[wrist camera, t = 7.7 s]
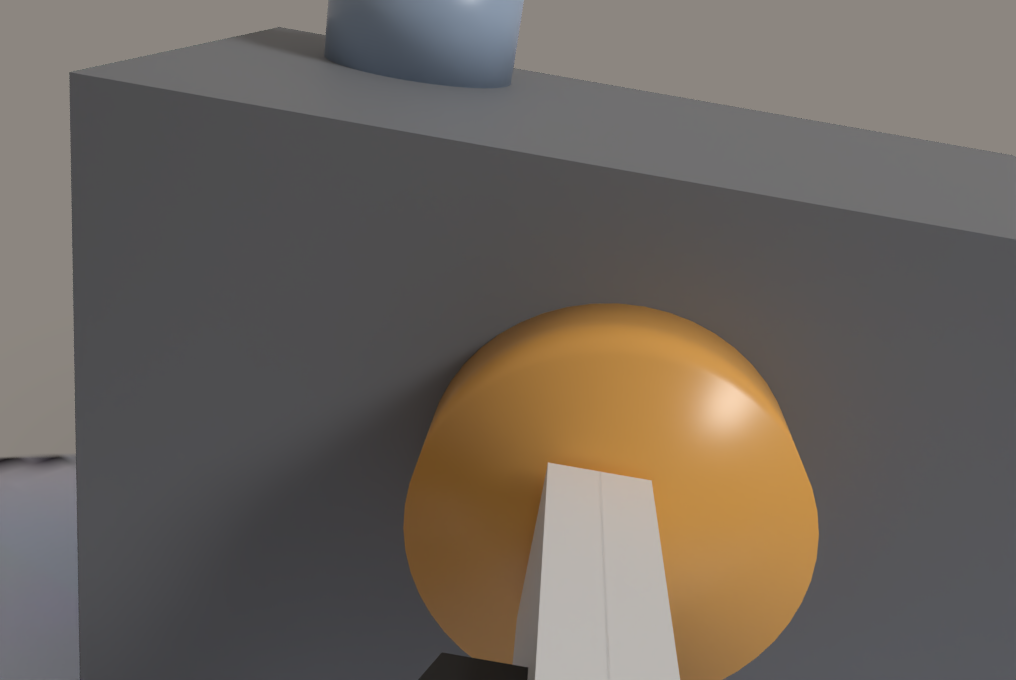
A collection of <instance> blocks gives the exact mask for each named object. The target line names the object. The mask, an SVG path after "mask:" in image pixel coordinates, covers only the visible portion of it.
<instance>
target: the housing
mask: <svg viewBox="0 0 1016 680" xmlns="http://www.w3.org/2000/svg"><path fill="white" fill-rule="evenodd" d="M325 38H326V35H321V34H315V33H310V32H304V31H298V30H293V29H286V28H281V27H278V28H273V29H269V30H264V31H259V32H255V33H250V34H246V35H241V36H236V37H231V38H227V39H222V40H218V41H213V42H208V43H204V44H199V45H194V46H190V47H185V48H180V49H175V50H171V51H167V52H161V53H157V54H152V55H147V56H143V57H138V58H133V59H129V60H125V61H120V62H115V63H110V64H105V65H101V66H96V67H92V68H87V69H82V70H77V71H73V72H70V73H69V74H70V130H71V188H72V189H71V190H72V248H73V301H74V305H73V306H74V362H75V363H74V364H75V419H76V421H75V422H76V480H77V538H78V596H79V654H80V680H418V679H419V678H420V677H421V676H422V675H423V673H424V672H425V671H426V670H427V669H428V668H429V666H430V665H431V664H432V663H433V662H434V661H435V660H436V658H437V657H438V656H439V655H440V654H441V653H442V652H443V653H449V654H454V655H460V656H466V657H470V656H469V655H468V654H467V653H465V652H464V651H463V650H462V649H461V648H460V647H459V646H458V645H457V644H456V643H455V642H454V641H453V640H452V639H451V638H450V637H449V636H448V635H447V634H446V633H445V632H444V631H443V629H442V628H441V627H440V626H439V624H438V623H437V622H436V620H435V619H434V618H433V616H432V615H431V614H430V612H429V610H428V608H427V607H426V605H425V603H424V601H423V600H422V598H421V596H420V594H419V592H418V590H417V587H416V585H415V582H414V580H413V577H412V575H411V572H410V568H409V564H408V560H407V556H406V551H405V541H404V530H403V526H404V509H405V502H406V497H407V493H408V488H409V484H410V481H411V478H412V475H413V472H414V469H415V467H416V464H417V461H418V458H419V456H420V453H421V450H422V447H423V444H424V442H425V439H426V436H427V433H428V431H429V428H430V425H431V422H432V420H433V417H434V414H435V412H436V409H437V406H438V404H439V401H440V399H441V398H442V396H443V394H444V392H445V391H446V389H447V387H448V385H449V383H450V382H451V380H452V379H453V378H454V377H455V375H456V374H457V373H458V371H459V370H460V369H461V367H462V366H463V365H464V364H465V363H466V362H467V361H468V360H469V359H470V358H471V357H472V356H473V355H474V354H475V353H476V352H477V351H478V350H479V349H480V348H481V347H483V346H484V345H485V344H487V343H488V342H489V341H491V340H492V339H493V338H495V337H496V336H497V335H499V334H500V333H502V332H504V331H506V330H508V329H509V328H511V327H513V326H515V325H517V324H518V323H520V322H523V321H525V320H528V319H530V318H533V317H535V316H538V315H540V314H543V313H546V312H550V311H554V310H558V309H561V308H565V307H571V306H578V305H586V304H609V303H619V304H628V305H636V306H644V307H649V308H653V309H657V310H661V311H665V312H669V313H672V314H674V315H677V316H679V317H682V318H685V319H687V320H690V321H693V322H694V323H696V324H698V325H700V326H702V327H704V328H706V329H707V330H709V331H711V332H713V333H715V334H716V335H718V336H719V337H720V338H722V339H723V340H725V341H726V342H727V343H729V344H730V345H731V346H733V347H734V348H735V349H736V350H737V351H738V352H740V353H741V354H742V355H743V356H744V357H745V358H746V359H747V360H748V361H749V362H750V363H751V364H752V365H753V366H754V368H755V369H756V370H757V371H758V373H759V374H760V375H761V376H762V378H763V379H764V380H765V382H766V383H767V385H768V386H769V388H770V390H771V391H772V393H773V395H774V397H775V398H776V400H777V402H778V404H779V407H780V409H781V412H782V414H783V416H784V419H785V421H786V424H787V426H788V429H789V431H790V434H791V436H792V439H793V441H794V444H795V446H796V449H797V451H798V453H799V456H800V458H801V461H802V463H803V466H804V468H805V471H806V473H807V476H808V479H809V481H810V484H811V486H812V489H813V494H814V498H815V503H816V507H817V513H818V529H819V539H818V550H817V559H816V563H815V567H814V571H813V575H812V579H811V582H810V584H809V587H808V589H807V591H806V594H805V596H804V598H803V601H802V603H801V605H800V606H799V608H798V609H797V611H796V613H795V614H794V616H793V618H792V619H791V621H790V623H789V624H788V625H787V626H786V627H785V629H784V630H783V631H782V632H781V634H780V635H779V636H778V637H777V638H776V640H775V641H774V642H773V643H772V644H771V645H770V646H768V647H767V648H766V649H765V650H764V651H763V652H762V653H761V654H760V655H759V656H758V657H757V658H755V659H754V660H752V661H751V662H750V663H748V664H747V665H746V666H744V667H743V668H741V669H740V670H739V671H737V672H735V673H734V674H732V675H730V676H728V677H726V678H725V679H723V680H1016V157H1015V156H1013V155H1007V154H1002V153H996V152H990V151H984V150H978V149H973V148H967V147H961V146H956V145H950V144H945V143H939V142H933V141H927V140H921V139H916V138H910V137H904V136H899V135H892V134H887V133H882V132H876V131H870V130H864V129H859V128H853V127H847V126H841V125H836V124H830V123H824V122H819V121H813V120H807V119H802V118H796V117H790V116H784V115H779V114H773V113H767V112H762V111H756V110H749V109H744V108H739V107H733V106H727V105H721V104H715V103H710V102H704V101H699V100H693V99H687V98H681V97H676V96H670V95H663V94H659V93H652V92H647V91H641V90H636V89H630V88H624V87H618V86H613V85H607V84H601V83H596V82H589V81H584V80H578V79H573V78H566V77H561V76H555V75H550V74H544V73H538V72H532V71H527V70H521V69H515V68H513V73H512V80H511V85H509V86H507V87H502V88H465V87H453V86H444V85H436V84H428V83H421V82H414V81H408V80H402V79H396V78H391V77H386V76H381V75H376V74H372V73H368V72H363V71H360V70H356V69H352V68H349V67H345V66H342V65H340V64H337V63H334V62H332V61H330V60H328V59H327V58H325V56H324V51H325Z"/></svg>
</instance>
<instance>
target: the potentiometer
mask: <svg viewBox="0 0 1016 680" xmlns="http://www.w3.org/2000/svg"><path fill="white" fill-rule="evenodd" d="M523 2H524V0H329V1H328V15H327V27H326V38H325V51H324V56H325V58H327V59H328V60H330V61H332V62H334V63H337V64H340V65H342V66H345V67H349V68H352V69H356V70H360V71H363V72H368V73H372V74H376V75H381V76H386V77H391V78H396V79H402V80H408V81H414V82H421V83H428V84H436V85H444V86H453V87H465V88H502V87H507V86H509V85H511V80H512V73H513V67H514V60H515V54H516V47H517V41H518V34H519V28H520V22H521V15H522V8H523Z"/></svg>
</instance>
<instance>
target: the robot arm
mask: <svg viewBox="0 0 1016 680" xmlns="http://www.w3.org/2000/svg"><path fill="white" fill-rule="evenodd" d="M418 680H680V675H679V668H678V661H677V654H676V647H675V640H674V633H673V626H672V619H671V612H670V605H669V598H668V591H667V584H666V577H665V570H664V563H663V556H662V549H661V542H660V535H659V528H658V521H657V514H656V507H655V501H654V494H653V487H652V480H646V479H640V478H634V477H629V476H623V475H617V474H611V473H606V472H600V471H594V470H589V469H583V468H577V467H571V466H566V465H560V464H554V463H548V465H547V470H546V475H545V480H544V485H543V490H542V495H541V500H540V505H539V510H538V515H537V520H536V525H535V530H534V535H533V540H532V545H531V550H530V555H529V560H528V565H527V570H526V575H525V580H524V585H523V590H522V595H521V600H520V605H519V610H518V615H517V622H516V633H515V644H514V654H513V665H512V664H506V663H500V662H494V661H489V660H483V659H477V658H472V657H466V656H460V655H454V654H449V653H443V652H442V653H441V654H440V655H439V656H438V657H437V658H436V660H435V661H434V662H433V663H432V664H431V665H430V666H429V668H428V669H427V670H426V671H425V672H424V673H423V675H422V676H421V677H420V678H419V679H418Z"/></svg>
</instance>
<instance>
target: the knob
mask: <svg viewBox="0 0 1016 680" xmlns="http://www.w3.org/2000/svg"><path fill="white" fill-rule="evenodd" d="M548 463H554V464H560V465H566V466H571V467H577V468H583V469H589V470H594V471H600V472H606V473H611V474H617V475H623V476H629V477H634V478H640V479H646V480H652V487H653V494H654V501H655V507H656V514H657V521H658V528H659V535H660V542H661V549H662V556H663V563H664V570H665V577H666V584H667V591H668V598H669V605H670V612H671V619H672V626H673V633H674V640H675V647H676V654H677V661H678V668H679V675H680V680H723V679H725V678H726V677H728V676H730V675H732V674H734V673H735V672H737V671H739V670H740V669H741V668H743V667H744V666H746V665H747V664H748V663H750V662H751V661H752V660H754V659H755V658H757V657H758V656H759V655H760V654H761V653H762V652H763V651H764V650H765V649H766V648H767V647H768V646H770V645H771V644H772V643H773V642H774V641H775V640H776V638H777V637H778V636H779V635H780V634H781V632H782V631H783V630H784V629H785V627H786V626H787V625H788V624H789V623H790V621H791V619H792V618H793V616H794V614H795V613H796V611H797V609H798V608H799V606H800V605H801V603H802V601H803V598H804V596H805V594H806V591H807V589H808V587H809V584H810V582H811V579H812V575H813V571H814V567H815V563H816V559H817V550H818V539H819V529H818V513H817V507H816V503H815V498H814V494H813V489H812V486H811V484H810V481H809V479H808V476H807V473H806V471H805V468H804V466H803V463H802V461H801V458H800V456H799V453H798V451H797V449H796V446H795V444H794V441H793V439H792V436H791V434H790V431H789V429H788V426H787V424H786V421H785V419H784V416H783V414H782V412H781V409H780V407H779V404H778V402H777V400H776V398H775V397H774V395H773V393H772V391H771V390H770V388H769V386H768V385H767V383H766V382H765V380H764V379H763V378H762V376H761V375H760V374H759V373H758V371H757V370H756V369H755V368H754V366H753V365H752V364H751V363H750V362H749V361H748V360H747V359H746V358H745V357H744V356H743V355H742V354H741V353H740V352H738V351H737V350H736V349H735V348H734V347H733V346H731V345H730V344H729V343H727V342H726V341H725V340H723V339H722V338H720V337H719V336H718V335H716V334H715V333H713V332H711V331H709V330H707V329H706V328H704V327H702V326H700V325H698V324H696V323H694V322H693V321H690V320H687V319H685V318H682V317H679V316H677V315H674V314H672V313H669V312H665V311H661V310H657V309H653V308H649V307H644V306H636V305H628V304H619V303H609V304H586V305H578V306H571V307H565V308H561V309H558V310H554V311H550V312H546V313H543V314H540V315H538V316H535V317H533V318H530V319H528V320H525V321H523V322H520V323H518V324H517V325H515V326H513V327H511V328H509V329H508V330H506V331H504V332H502V333H500V334H499V335H497V336H496V337H495V338H493V339H492V340H491V341H489V342H488V343H487V344H485V345H484V346H483V347H481V348H480V349H479V350H478V351H477V352H476V353H475V354H474V355H473V356H472V357H471V358H470V359H469V360H468V361H467V362H466V363H465V364H464V365H463V366H462V367H461V369H460V370H459V371H458V373H457V374H456V375H455V377H454V378H453V379H452V380H451V382H450V383H449V385H448V387H447V389H446V391H445V392H444V394H443V396H442V398H441V399H440V401H439V404H438V406H437V409H436V412H435V414H434V417H433V420H432V422H431V425H430V428H429V431H428V433H427V436H426V439H425V442H424V444H423V447H422V450H421V453H420V456H419V458H418V461H417V464H416V467H415V469H414V472H413V475H412V478H411V481H410V484H409V488H408V493H407V497H406V502H405V509H404V526H403V530H404V541H405V551H406V556H407V560H408V564H409V568H410V572H411V575H412V577H413V580H414V582H415V585H416V587H417V590H418V592H419V594H420V596H421V598H422V600H423V601H424V603H425V605H426V607H427V608H428V610H429V612H430V614H431V615H432V616H433V618H434V619H435V620H436V622H437V623H438V624H439V626H440V627H441V628H442V629H443V631H444V632H445V633H446V634H447V635H448V636H449V637H450V638H451V639H452V640H453V641H454V642H455V643H456V644H457V645H458V646H459V647H460V648H461V649H462V650H463V651H464V652H465V653H467V654H468V655H469V656H470V657H472V658H477V659H483V660H489V661H494V662H500V663H506V664H512V665H513V654H514V644H515V633H516V622H517V615H518V610H519V605H520V600H521V595H522V590H523V585H524V580H525V575H526V570H527V565H528V560H529V555H530V550H531V545H532V540H533V535H534V530H535V525H536V520H537V515H538V510H539V505H540V500H541V495H542V490H543V485H544V480H545V475H546V470H547V465H548Z"/></svg>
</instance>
